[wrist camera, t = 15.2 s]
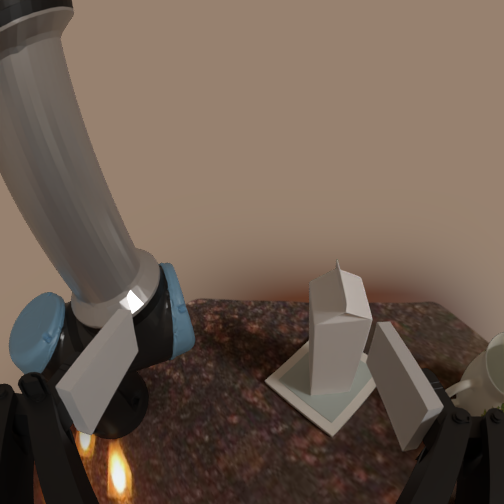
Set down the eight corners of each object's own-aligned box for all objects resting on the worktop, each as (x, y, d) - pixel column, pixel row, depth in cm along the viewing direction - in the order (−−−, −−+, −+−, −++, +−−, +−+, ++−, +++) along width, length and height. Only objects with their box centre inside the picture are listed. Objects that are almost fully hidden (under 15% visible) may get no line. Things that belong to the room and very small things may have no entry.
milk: (310, 396, 40) (312, 306, 25) (308, 362, 44) (306, 259, 30) (350, 392, 39) (378, 299, 25) (346, 358, 43) (364, 254, 29)
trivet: (265, 383, 44) (264, 380, 43) (323, 329, 50) (323, 325, 49) (331, 437, 35) (332, 436, 34) (387, 372, 41) (389, 368, 40)
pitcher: (417, 385, 38) (448, 338, 29) (499, 365, 35) (537, 318, 26) (425, 447, 29) (468, 419, 21) (512, 418, 27) (560, 380, 18)
